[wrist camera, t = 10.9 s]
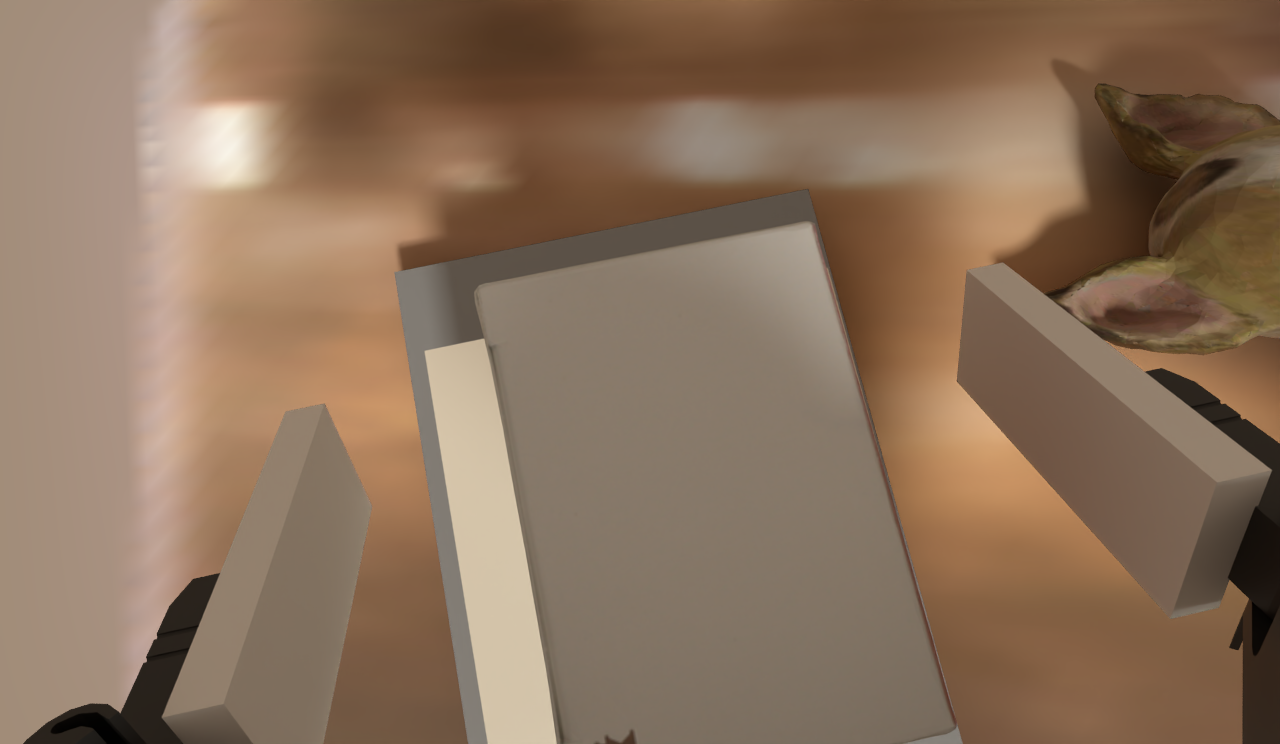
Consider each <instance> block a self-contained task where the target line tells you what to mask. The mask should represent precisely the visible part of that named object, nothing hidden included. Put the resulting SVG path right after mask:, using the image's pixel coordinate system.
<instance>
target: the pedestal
mask: <svg viewBox="0 0 1280 744" xmlns="http://www.w3.org/2000/svg"><path fill="white" fill-rule="evenodd" d="M803 221H809V222H813V223H815V227H816V230H817V235H818V240H819V244H820V247H821V251H822V254H823V258H824V261H825V265H826V268H827V272H828V275H829V279H830V282H831V286H832V289H833V293H834V296H835V300H836V303H837V307H838V310H839V314H840V317H841V321H842V324H843V328H844V331H845V335H846V338H847V342H848V346H849V349H850V353H851V357H852V360H853V364H854V368H855V371H856V375H857V378H858V381H859V384H860V388H861V391H862V395H863V398H864V402H865V405H866V409H867V412H868V416H869V419H870V423H871V426H872V430H873V434H874V437H875V440H876V444H877V447H878V451H879V454H880V458H881V461H882V465H883V468H884V472H885V475H886V479H887V482H888V486H889V489H890V493H891V496H892V500H893V503H894V507H895V510H896V513H897V517H898V520H899V524H900V528H901V531H902V535H903V538H904V542H905V545H906V549H907V552H908V556H909V559H910V563H911V566H912V570H913V573H914V577H915V581H916V584H917V588H918V591H919V595H920V598H921V601H922V605H923V608H924V611H925V615H926V618H927V614H926V610H925V607H924V603H923V600H922V596H921V592H920V589H919V585H918V582H917V578H916V574H915V571H914V567H913V564H912V560H911V556H910V553H909V549H908V546H907V542H906V539H905V535H904V531H903V528H902V524H901V521H900V517H899V513H898V510H897V506H896V503H895V499H894V495H893V492H892V488H891V485H890V481H889V477H888V474H887V470H886V467H885V463H884V459H883V456H882V452H881V449H880V445H879V442H878V438H877V434H876V431H875V427H874V424H873V420H872V416H871V413H870V409H869V406H868V402H867V398H866V395H865V391H864V388H863V384H862V380H861V377H860V373H859V370H858V366H857V362H856V359H855V355H854V352H853V348H852V345H851V341H850V337H849V334H848V330H847V327H846V323H845V319H844V316H843V312H842V309H841V305H840V301H839V298H838V294H837V291H836V287H835V283H834V280H833V276H832V273H831V269H830V266H829V262H828V258H827V255H826V251H825V248H824V244H823V240H822V237H821V233H820V230H819V226H818V222H817V219H816V215H815V212H814V208H813V204H812V201H811V197H810V194H809V190H808V189H805V190H800V191H795V192H790V193H786V194H781V195H776V196H771V197H766V198H761V199H756V200H751V201H746V202H741V203H736V204H731V205H726V206H721V207H716V208H711V209H706V210H701V211H696V212H691V213H686V214H681V215H676V216H671V217H666V218H662V219H657V220H652V221H647V222H642V223H637V224H632V225H627V226H622V227H617V228H612V229H607V230H602V231H597V232H592V233H587V234H582V235H577V236H572V237H567V238H562V239H557V240H552V241H547V242H542V243H537V244H533V245H528V246H523V247H518V248H513V249H508V250H503V251H498V252H493V253H488V254H483V255H478V256H473V257H468V258H463V259H458V260H453V261H448V262H443V263H438V264H433V265H428V266H423V267H418V268H413V269H409V270H404V271H399V272H395V278H396V285H397V291H398V297H399V304H400V310H401V317H402V323H403V329H404V336H405V342H406V349H407V355H408V361H409V368H410V374H411V381H412V387H413V393H414V400H415V406H416V413H417V419H418V425H419V432H420V438H421V444H422V451H423V457H424V464H425V470H426V476H427V483H428V489H429V496H430V502H431V508H432V515H433V521H434V528H435V534H436V540H437V547H438V553H439V560H440V566H441V572H442V579H443V585H444V591H445V598H446V604H447V611H448V617H449V623H450V630H451V636H452V643H453V649H454V655H455V662H456V668H457V675H458V681H459V687H460V694H461V700H462V707H463V713H464V719H465V726H466V732H467V739H468V744H557V742H556V735H555V728H554V721H553V714H552V707H551V699H550V692H549V686H548V679H547V673H546V666H545V661H544V655H543V650H542V644H541V639H540V633H539V627H538V622H537V616H536V610H535V604H534V599H533V593H532V587H531V581H530V576H529V570H528V564H527V558H526V553H525V547H524V542H523V536H522V531H521V525H520V520H519V515H518V509H517V504H516V498H515V493H514V488H513V482H512V477H511V471H510V465H509V460H508V454H507V448H506V443H505V437H504V431H503V426H502V421H501V416H500V411H499V406H498V401H497V396H496V391H495V386H494V381H493V375H492V370H491V366H490V361H489V357H488V353H487V349H486V344H485V340H484V336H483V332H482V327H481V323H480V320H479V316H478V312H477V308H476V304H475V297H474V292H475V290H476V289H477V288H478V286H479V285H482V284H485V283H490V282H496V281H501V280H506V279H512V278H517V277H522V276H527V275H532V274H537V273H542V272H547V271H552V270H557V269H561V268H566V267H571V266H576V265H582V264H587V263H592V262H597V261H602V260H607V259H612V258H618V257H623V256H628V255H633V254H638V253H643V252H648V251H654V250H659V249H664V248H669V247H674V246H679V245H685V244H690V243H695V242H700V241H705V240H710V239H715V238H721V237H726V236H731V235H736V234H742V233H747V232H752V231H757V230H763V229H768V228H773V227H778V226H783V225H789V224H794V223H798V222H803ZM927 622H928V625H929V621H928V618H927ZM929 628H930V625H929ZM930 632H931V628H930ZM931 635H932V632H931ZM932 639H933V635H932ZM933 642H934V639H933ZM934 646H935V643H934ZM935 649H936V646H935ZM936 653H937V650H936ZM937 656H938V653H937ZM938 660H939V657H938ZM939 664H940V661H939ZM940 667H941V664H940ZM941 671H942V668H941ZM942 674H943V671H942ZM943 678H944V675H943ZM944 681H945V679H944ZM945 685H946V682H945ZM946 688H947V686H946ZM947 692H948V689H947ZM948 696H949V693H948ZM949 699H950V697H949ZM950 703H951V700H950ZM951 706H952V704H951ZM952 709H953V707H952ZM953 712H954V711H953ZM904 744H963V743H962V740H961V736H960V732H959V729H958V725H957V726H956V729H955V730H953V731H952V732H950V733H948V734H944V735H939V736H934V737H929V738H925V739H921V740H917V741H912V742H908V743H904Z"/></svg>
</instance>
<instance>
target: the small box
mask: <svg viewBox="0 0 1280 744" xmlns="http://www.w3.org/2000/svg"><path fill="white" fill-rule="evenodd" d="M474 297H475V304H476V308H477V312H478V316H479V320H480V323H481V327H482V332H483V336H484V340H485V344H486V349H487V353H488V357H489V361H490V366H491V370H492V375H493V381H494V386H495V391H496V396H497V401H498V406H499V411H500V416H501V421H502V426H503V431H504V437H505V443H506V448H507V454H508V460H509V465H510V471H511V477H512V482H513V488H514V493H515V498H516V504H517V509H518V515H519V520H520V525H521V531H522V536H523V542H524V547H525V553H526V558H527V564H528V570H529V576H530V581H531V587H532V593H533V599H534V604H535V610H536V616H537V622H538V627H539V633H540V639H541V644H542V650H543V655H544V661H545V666H546V673H547V679H548V686H549V692H550V699H551V707H552V714H553V721H554V728H555V735H556V742H557V744H904V743H908V742H912V741H917V740H921V739H925V738H929V737H934V736H939V735H944V734H948V733H950V732H952V731H953V730H955V729H956V726H957V721H956V718H955V715H954V712H953V709H952V706H951V703H950V699H949V696H948V692H947V688H946V685H945V681H944V678H943V674H942V671H941V667H940V664H939V660H938V656H937V653H936V649H935V646H934V642H933V639H932V635H931V632H930V628H929V625H928V622H927V618H926V615H925V611H924V608H923V605H922V601H921V598H920V595H919V591H918V588H917V584H916V581H915V577H914V573H913V570H912V566H911V563H910V559H909V556H908V552H907V549H906V545H905V542H904V538H903V535H902V531H901V528H900V524H899V520H898V517H897V513H896V510H895V507H894V503H893V500H892V496H891V493H890V489H889V486H888V482H887V479H886V475H885V472H884V468H883V465H882V461H881V458H880V454H879V451H878V447H877V444H876V440H875V437H874V434H873V430H872V426H871V423H870V419H869V416H868V412H867V409H866V405H865V402H864V398H863V395H862V391H861V388H860V384H859V381H858V378H857V375H856V371H855V368H854V364H853V360H852V357H851V353H850V349H849V346H848V342H847V338H846V335H845V331H844V328H843V324H842V321H841V317H840V314H839V310H838V307H837V303H836V300H835V296H834V293H833V289H832V286H831V282H830V279H829V275H828V272H827V268H826V265H825V261H824V258H823V254H822V251H821V247H820V244H819V240H818V235H817V230H816V227H815V223H813V222H809V221H803V222H798V223H794V224H789V225H783V226H778V227H773V228H768V229H763V230H757V231H752V232H747V233H742V234H736V235H731V236H726V237H721V238H715V239H710V240H705V241H700V242H695V243H690V244H685V245H679V246H674V247H669V248H664V249H659V250H654V251H648V252H643V253H638V254H633V255H628V256H623V257H618V258H612V259H607V260H602V261H597V262H592V263H587V264H582V265H576V266H571V267H566V268H561V269H557V270H552V271H547V272H542V273H537V274H532V275H527V276H522V277H517V278H512V279H506V280H501V281H496V282H490V283H485V284H482V285H479V286H478V288H477V289H476V290H475V292H474Z"/></svg>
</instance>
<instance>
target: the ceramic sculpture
mask: <svg viewBox="0 0 1280 744" xmlns="http://www.w3.org/2000/svg"><path fill="white" fill-rule="evenodd" d="M1095 99H1096V100H1097V102H1098V104H1099V106H1100V108H1101V110H1102V112H1103V113H1104V115H1105V117H1106V119H1107V120H1108V122H1109V125H1110V127H1111V130H1112V132H1113V134H1114V135H1115V137H1116V139H1117V140H1118V142H1119V143H1120V145H1121V147H1122V148H1123V150H1124V151H1125V153H1126V155H1127V156H1128V158H1129V160H1130V161H1131V162H1132V163H1134V164H1135V165H1136V166H1138V167H1139V168H1140V169H1142V170H1143V171H1146V172H1149V173H1153V174H1156V175H1161V176H1166V177H1171V178H1175V179H1179V180H1178V181H1177V182H1176V183H1175V184H1174V185H1173V186H1172V187H1171V189H1170V190H1169V191H1168V192H1167V193H1166V194H1165V195H1164V197H1163V198H1162V200H1161V201H1160V203H1159V205H1158V206H1157V208H1156V211H1155V213H1154V215H1153V217H1152V219H1151V222H1150V225H1149V253H1150V256H1140V257H1132V258H1126V259H1121V260H1116V261H1112V262H1109V263H1106V264H1103V265H1100V266H1098V267H1097V268H1095V269H1093V270H1092V271H1090V272H1088V273H1087V274H1085V275H1084V276H1082V277H1080V278H1078V279H1077V280H1075V281H1073V282H1072V283H1070V284H1068V285H1067V286H1065V287H1063V288H1060V289H1057V290H1053V291H1050V292H1046V293H1043V294H1044V295H1046V296H1047V297H1048V298H1050V299H1051V300H1052V301H1054V302H1055V303H1056V304H1057V305H1059V306H1060V307H1061V308H1063V309H1064V310H1065V311H1066V312H1068V313H1069V314H1070V315H1072V316H1073V317H1074V318H1076V319H1077V320H1078V321H1079V322H1081V323H1082V324H1083V325H1085V326H1086V327H1087V328H1088V329H1090V330H1091V331H1092V332H1094V333H1095V334H1096V335H1098V336H1099V337H1100V338H1101V339H1103V340H1106V341H1108V342H1110V343H1112V344H1114V345H1117V346H1121V347H1126V348H1130V349H1143V350H1148V351H1152V352H1161V353H1172V354H1185V353H1189V354H1199V355H1205V354H1209V353H1214V352H1219V351H1223V350H1228V349H1232V348H1236V347H1238V346H1240V345H1242V344H1243V343H1245V342H1247V341H1248V340H1250V339H1252V338H1254V337H1257V336H1264V337H1269V338H1279V339H1280V120H1278V119H1277V118H1276V117H1274V116H1273V115H1272V114H1270V113H1269V112H1268V111H1267V110H1265V109H1264V108H1263V107H1261V106H1259V105H1254V104H1242V103H1237V102H1234V101H1232V100H1231V99H1229V98H1226V97H1223V96H1219V95H1201V94H1197V95H1194V96H1191V97H1188V98H1185V97H1183V96H1182V95H1167V94H1157V95H1140V94H1131V93H1129V92H1127V91H1125V90H1123V89H1122V88H1119V87H1115V86H1110V85H1107V84H1098V85H1097V86H1096V88H1095Z"/></svg>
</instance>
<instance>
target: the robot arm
mask: <svg viewBox="0 0 1280 744" xmlns="http://www.w3.org/2000/svg"><path fill="white" fill-rule="evenodd" d="M957 382H958V383H959V384H960V385H961V386H962V388H963V389H964V390H965V391H966V392H967V393H968V394H969V395H970V397H971V398H972V399H973V400H974V401H975V402H976V403H977V404H978V405H979V407H980V408H981V409H982V410H983V411H984V412H985V413H986V414H987V415H988V417H989V418H990V419H991V420H992V421H993V422H994V423H995V424H996V425H997V427H998V428H999V429H1000V430H1001V431H1002V432H1003V433H1004V434H1005V435H1006V437H1007V438H1008V439H1009V440H1010V441H1011V442H1012V443H1013V444H1014V445H1015V447H1016V448H1017V449H1018V450H1019V451H1020V452H1021V453H1022V454H1023V455H1024V457H1025V458H1026V459H1027V460H1028V461H1029V462H1030V463H1031V464H1032V465H1033V467H1034V468H1035V469H1036V470H1037V471H1038V472H1039V473H1040V474H1041V475H1042V477H1043V478H1044V479H1045V480H1046V481H1047V482H1048V483H1049V484H1050V485H1051V487H1052V488H1053V489H1054V490H1055V491H1056V492H1057V493H1058V494H1059V495H1060V497H1061V498H1062V499H1063V500H1064V501H1065V502H1066V503H1067V504H1068V506H1069V507H1070V508H1071V509H1072V510H1073V511H1074V512H1075V513H1076V514H1077V516H1078V517H1079V518H1080V519H1081V520H1082V521H1083V522H1084V523H1085V524H1086V526H1087V527H1088V528H1089V529H1090V530H1091V531H1092V532H1093V533H1094V534H1095V536H1096V537H1097V538H1098V539H1099V540H1100V541H1101V542H1102V543H1103V544H1104V546H1105V547H1106V548H1107V549H1108V550H1109V551H1110V552H1111V553H1112V554H1113V556H1114V557H1115V558H1116V559H1117V560H1118V561H1119V562H1120V563H1121V564H1122V566H1123V567H1124V568H1125V569H1126V570H1127V571H1128V572H1129V573H1130V574H1131V576H1132V577H1133V578H1134V579H1135V580H1136V581H1137V582H1138V583H1139V584H1140V586H1141V587H1142V588H1143V589H1144V590H1145V591H1146V592H1147V593H1148V594H1149V596H1150V597H1151V598H1152V599H1153V600H1154V601H1155V602H1156V603H1157V604H1158V606H1159V607H1160V608H1161V609H1162V610H1163V611H1164V612H1165V613H1166V614H1167V616H1168V617H1169V618H1170V619H1172V618H1176V617H1181V616H1185V615H1189V614H1194V613H1198V612H1202V611H1207V610H1211V609H1215V608H1219V605H1220V603H1221V600H1222V598H1223V595H1224V592H1225V590H1226V587H1227V585H1228V582H1229V580H1231V581H1232V582H1233V583H1234V584H1235V585H1236V586H1237V587H1238V588H1239V589H1240V590H1241V591H1242V592H1243V593H1244V594H1245V595H1246V596H1247V597H1248V598H1249V600H1248V603H1247V605H1246V608H1245V610H1244V612H1243V615H1242V617H1241V620H1240V622H1239V624H1238V627H1237V629H1236V632H1235V634H1234V636H1233V639H1232V642H1231V644H1230V647H1229V648H1232V649H1235V650H1239V648H1240V645H1241V643H1242V641H1243V744H1280V444H1279V443H1278V442H1277V441H1275V440H1274V439H1273V438H1271V437H1270V436H1268V435H1267V434H1266V433H1264V432H1263V431H1262V430H1260V429H1259V428H1257V427H1256V426H1255V425H1253V424H1252V423H1251V422H1249V421H1248V420H1247V419H1243V420H1242V419H1241V417H1240V416H1241V415H1240V414H1238V413H1237V412H1236V411H1234V410H1233V409H1231V408H1230V407H1229V406H1227V405H1226V404H1221V403H1220V400H1219V399H1218V398H1216V397H1215V396H1214V395H1212V394H1211V393H1210V392H1208V391H1207V390H1205V389H1204V388H1203V387H1201V386H1200V385H1199V384H1197V383H1196V382H1194V381H1192V380H1189V379H1187V378H1184V377H1182V376H1180V375H1177V374H1175V373H1172V372H1170V371H1167V370H1165V369H1162V368H1160V369H1155V370H1151V371H1146V372H1144V371H1143V370H1142V369H1140V368H1139V367H1138V366H1136V365H1135V364H1134V363H1133V362H1131V361H1130V360H1129V359H1127V358H1126V357H1125V356H1123V355H1122V354H1121V353H1120V352H1118V351H1117V350H1116V349H1114V348H1113V347H1112V346H1111V345H1109V344H1108V343H1107V342H1105V341H1104V340H1103V339H1101V338H1100V337H1099V336H1098V335H1096V334H1095V333H1094V332H1092V331H1091V330H1090V329H1088V328H1087V327H1086V326H1085V325H1083V324H1082V323H1081V322H1079V321H1078V320H1077V319H1076V318H1074V317H1073V316H1072V315H1070V314H1069V313H1068V312H1066V311H1065V310H1064V309H1063V308H1061V307H1060V306H1059V305H1057V304H1056V303H1055V302H1054V301H1052V300H1051V299H1050V298H1048V297H1047V296H1046V295H1044V294H1043V293H1042V292H1041V291H1039V290H1038V289H1037V288H1035V287H1034V286H1033V285H1032V284H1030V283H1029V282H1028V281H1026V280H1025V279H1024V278H1022V277H1021V276H1020V275H1019V274H1017V273H1016V272H1015V271H1013V270H1012V269H1011V268H1009V267H1008V266H1007V265H1006V264H1004V263H998V264H993V265H989V266H984V267H979V268H974V269H969V270H967V273H966V284H965V295H964V307H963V318H962V329H961V340H960V352H959V363H958V374H957ZM371 510H372V505H371V503H370V501H369V499H368V496H367V494H366V492H365V490H364V488H363V486H362V483H361V481H360V479H359V477H358V475H357V473H356V470H355V468H354V466H353V464H352V462H351V460H350V457H349V455H348V453H347V451H346V449H345V447H344V444H343V442H342V440H341V438H340V436H339V434H338V431H337V429H336V427H335V425H334V423H333V421H332V418H331V416H330V414H329V412H328V410H327V408H326V405H325V404H320V405H315V406H310V407H306V408H301V409H296V410H291V411H286V412H285V414H284V417H283V419H282V422H281V424H280V427H279V429H278V432H277V434H276V436H275V439H274V441H273V444H272V446H271V449H270V451H269V454H268V456H267V459H266V461H265V464H264V466H263V469H262V471H261V474H260V476H259V478H258V481H257V483H256V486H255V488H254V491H253V493H252V496H251V498H250V501H249V503H248V506H247V508H246V511H245V513H244V516H243V518H242V520H241V523H240V525H239V528H238V530H237V533H236V535H235V538H234V540H233V543H232V545H231V548H230V550H229V553H228V555H227V558H226V560H225V562H224V565H223V567H222V570H221V572H220V573H219V574H214V575H209V576H205V577H200V578H195V579H193V580H192V581H191V582H190V583H189V584H188V585H187V587H186V588H185V589H184V590H183V591H182V592H181V593H180V595H179V596H178V597H177V598H176V599H175V600H174V602H173V603H172V604H171V605H170V606H169V608H168V610H167V613H166V615H165V617H164V619H163V621H162V624H161V626H160V628H159V630H158V632H157V639H155V640H154V641H153V643H152V645H151V648H150V650H149V652H148V654H147V656H146V658H147V662H146V663H143V665H142V667H141V670H140V672H139V674H138V676H137V678H136V681H135V683H134V685H133V687H132V689H131V692H130V694H129V696H128V698H127V700H126V702H125V705H124V707H123V709H122V711H121V713H119V712H118V711H117V710H115V709H114V708H113V707H111V706H110V705H108V704H88V705H84V706H81V707H78V708H75V709H71V710H69V711H67V712H65V713H63V714H62V715H60V716H58V717H57V718H55V719H53V720H51V721H49V722H48V723H46V724H45V725H44V726H43V727H41V728H40V729H39V730H38V731H37V732H36V733H34V734H33V735H32V736H31V737H29V738H28V739H27V740H26V741H25V742H24V743H23V744H323V742H324V737H325V732H326V727H327V723H328V718H329V713H330V708H331V703H332V698H333V694H334V689H335V684H336V679H337V674H338V669H339V664H340V660H341V655H342V650H343V645H344V640H345V635H346V631H347V626H348V621H349V616H350V611H351V606H352V602H353V597H354V592H355V587H356V582H357V577H358V573H359V568H360V563H361V558H362V553H363V548H364V543H365V539H366V534H367V529H368V524H369V519H370V514H371Z"/></svg>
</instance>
